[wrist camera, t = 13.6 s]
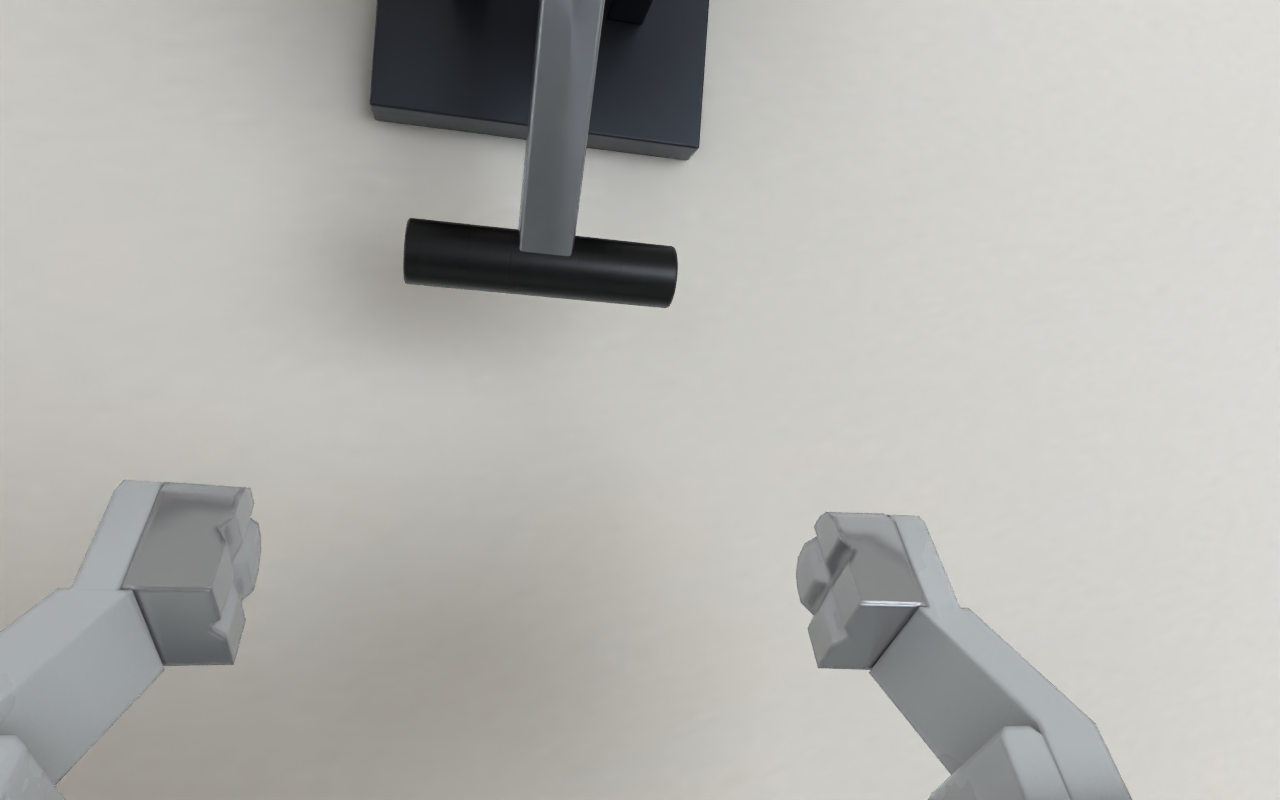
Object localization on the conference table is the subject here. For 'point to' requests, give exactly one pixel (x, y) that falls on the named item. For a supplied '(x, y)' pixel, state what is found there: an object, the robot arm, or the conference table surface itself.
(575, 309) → the conference table surface
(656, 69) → the lever bracket
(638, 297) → the lever
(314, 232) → the conference table surface
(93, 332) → the conference table surface
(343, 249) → the conference table surface
